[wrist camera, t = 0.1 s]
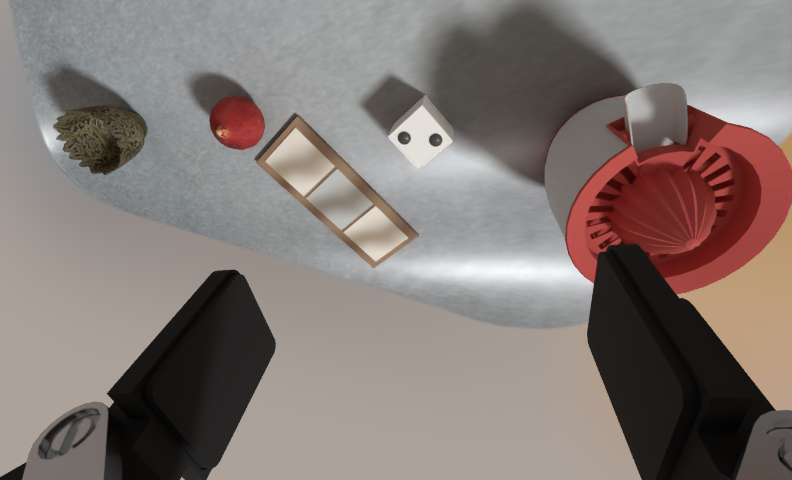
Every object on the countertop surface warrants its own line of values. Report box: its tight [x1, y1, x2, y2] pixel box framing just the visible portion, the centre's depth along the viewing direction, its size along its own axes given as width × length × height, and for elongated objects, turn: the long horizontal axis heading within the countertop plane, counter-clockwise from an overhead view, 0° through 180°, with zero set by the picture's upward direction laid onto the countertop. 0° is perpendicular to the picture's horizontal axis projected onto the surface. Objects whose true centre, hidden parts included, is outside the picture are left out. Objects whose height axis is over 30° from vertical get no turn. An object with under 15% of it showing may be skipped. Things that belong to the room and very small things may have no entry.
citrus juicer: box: [545, 83, 792, 294], centre depth 35 cm, size 16×17×20 cm
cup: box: [53, 106, 147, 175], centre depth 46 cm, size 8×7×8 cm
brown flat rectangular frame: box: [256, 115, 418, 268], centre depth 51 cm, size 22×9×1 cm, turn 44°
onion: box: [210, 96, 265, 150], centre depth 43 cm, size 6×6×8 cm
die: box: [388, 95, 453, 170], centre depth 42 cm, size 5×5×5 cm
